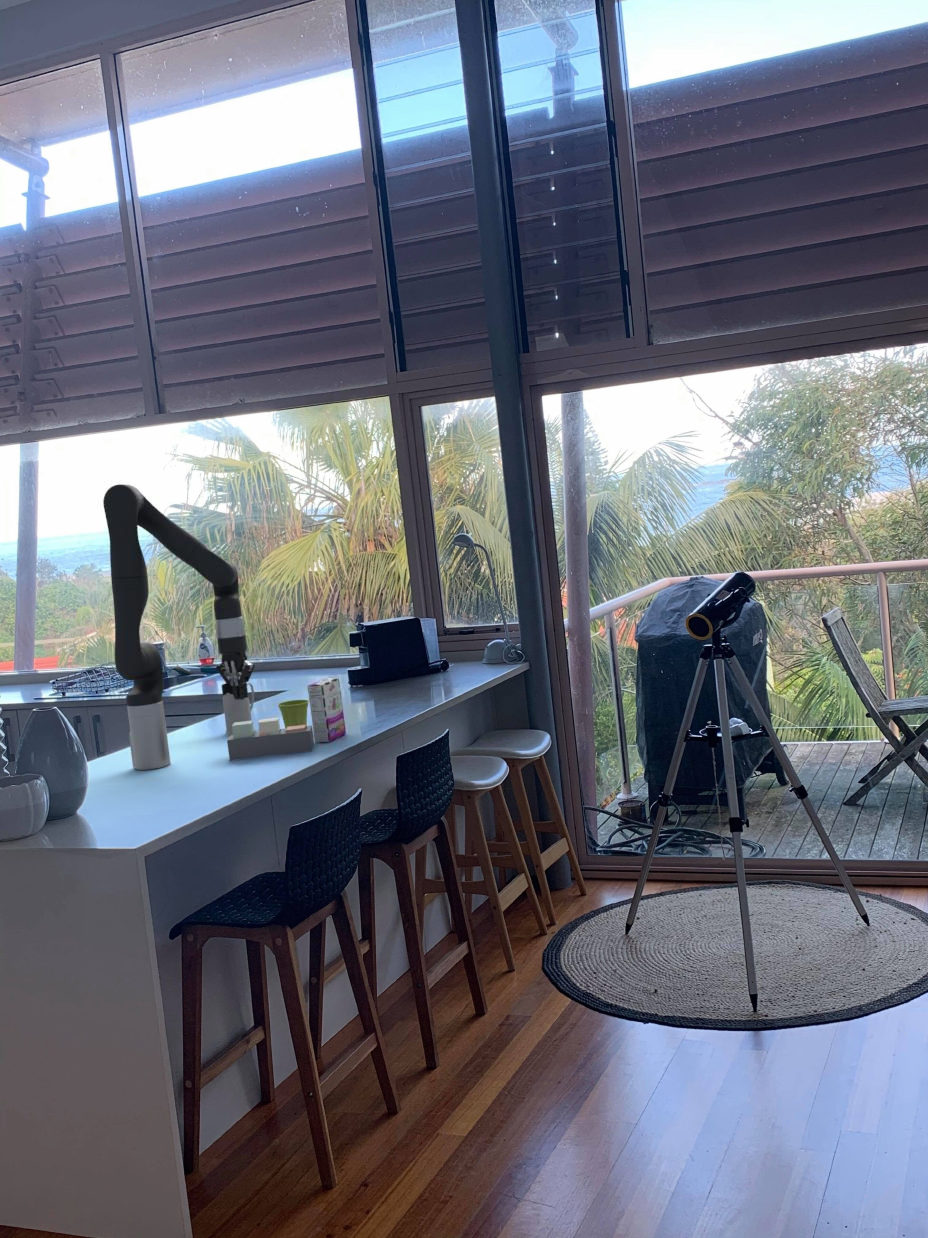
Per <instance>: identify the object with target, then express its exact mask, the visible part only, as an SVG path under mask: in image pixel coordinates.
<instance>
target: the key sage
mask: <svg viewBox="0 0 928 1238" xmlns="http://www.w3.org/2000/svg"><path fill="white" fill-rule="evenodd" d="M232 731H233V739H236V738H245V737H253V736H254V732H255V728H254V720H253V719H252V721H243V722H235V723H234V724H233V725H232Z"/></svg>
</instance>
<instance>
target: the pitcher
mask: <svg viewBox="0 0 928 1238" xmlns="http://www.w3.org/2000/svg"><path fill="white" fill-rule="evenodd" d="M248 685H249V686H250V690H251V702H250V697H249V693H248V692H249V691H248ZM243 687H244V694H245V695H244V698H243V699H238V700H236V699H235V698H234V696H233V689H232V686H231V684H229V683H228V684H227V683H226V682H225V683H222V684H221V692H222V703H223V714H224V720H225V728H226V729H225V730H226V731H225V734H224V735H226V736H230V735H233V731H232V725H233V724H234V723H235V722H243V721H252V720H253V719H252V710H253V707H254V701H255V692H254V686H253V684H252V683H251V682H246V683H244V684H243Z"/></svg>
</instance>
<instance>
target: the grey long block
mask: <svg viewBox="0 0 928 1238" xmlns="http://www.w3.org/2000/svg"><path fill="white" fill-rule="evenodd" d="M286 729H287V728H286ZM286 729H285V728H280V733H278V732H275V733H271V735H267V734H260V733H259V731H254V736H253V737H245V738H236V739H233V735H229V737H228V739H227V741H226V742H227V750H228V757H229V761H231V762H232V761H238V760H248V759H254V758H256V759H257V758H263V757H272V756H281V755H290V754H297V753H306V752H313V751H314V748H315V738H314V731H313V724H311V725H307V726H306V730H305V731H296V732H288V733H286Z"/></svg>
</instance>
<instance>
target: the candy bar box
mask: <svg viewBox="0 0 928 1238" xmlns="http://www.w3.org/2000/svg"><path fill="white" fill-rule="evenodd" d="M307 692H308V699H309V709H310V714H311V715H310V716H311V720H312V721H311V723H312V731H313V739H314V744H321V743H322V744H324V743H325V744H326V743H332V742H334V741H335V740H337V739H339V738H341V737H343V736H345V735H346V734H347V730H346V722H345V717H344V716H345V715H344V709H343V707H344V706H343V700H342V692H341V686H340V678H339V677H329V678H328V677H326V678H324V679H323V678H322V679H321V680H317V681H315V682H313V683H311V684H309V685H307Z"/></svg>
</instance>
